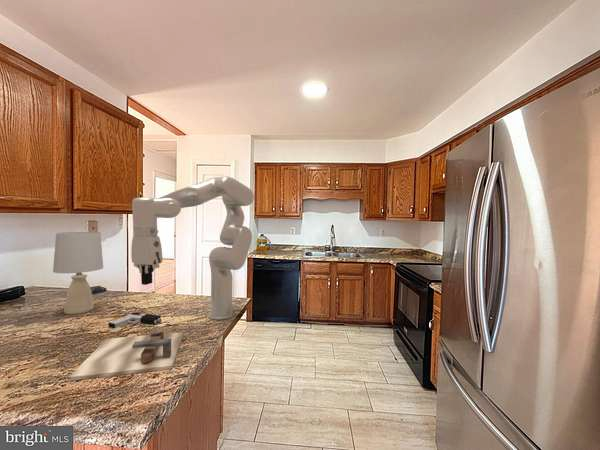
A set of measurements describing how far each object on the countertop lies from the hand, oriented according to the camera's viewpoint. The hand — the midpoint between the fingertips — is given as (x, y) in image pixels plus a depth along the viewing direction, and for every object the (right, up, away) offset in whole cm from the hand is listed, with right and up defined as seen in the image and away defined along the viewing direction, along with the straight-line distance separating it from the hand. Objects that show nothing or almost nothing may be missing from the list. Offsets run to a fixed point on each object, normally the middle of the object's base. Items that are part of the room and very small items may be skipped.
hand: (147, 283), depth 100 cm
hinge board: (+1, -21, -8) cm, 23 cm away
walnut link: (+6, -20, -7) cm, 22 cm away
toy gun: (-14, -21, +17) cm, 30 cm away
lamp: (-50, -20, +32) cm, 63 cm away
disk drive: (-68, -19, +62) cm, 95 cm away
